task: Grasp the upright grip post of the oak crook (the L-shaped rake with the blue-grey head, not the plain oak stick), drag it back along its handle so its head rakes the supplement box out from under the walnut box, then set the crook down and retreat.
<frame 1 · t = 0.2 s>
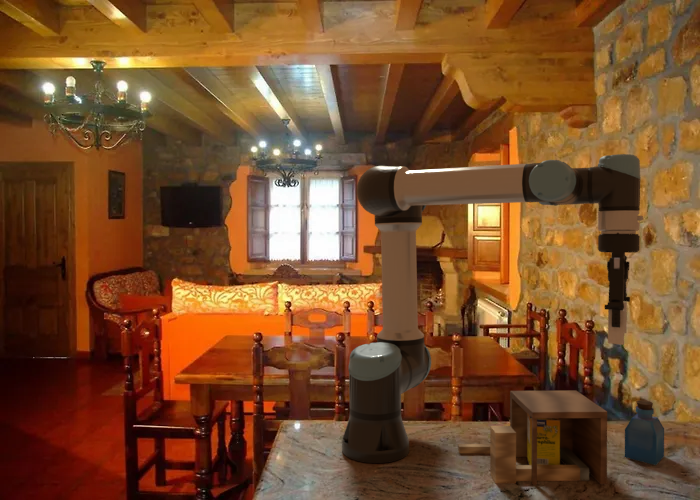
hand: (617, 338, 113), 28 cm above the countertop, fingers open, 13 cm apart
oak crook: (502, 479, 111), on the countertop
walnut box: (561, 466, 117), on the countertop
perfume bottle: (644, 457, 122), on the countertop
plain oak stick: (485, 453, 125), on the countertop
supplement box: (543, 467, 117), on the countertop
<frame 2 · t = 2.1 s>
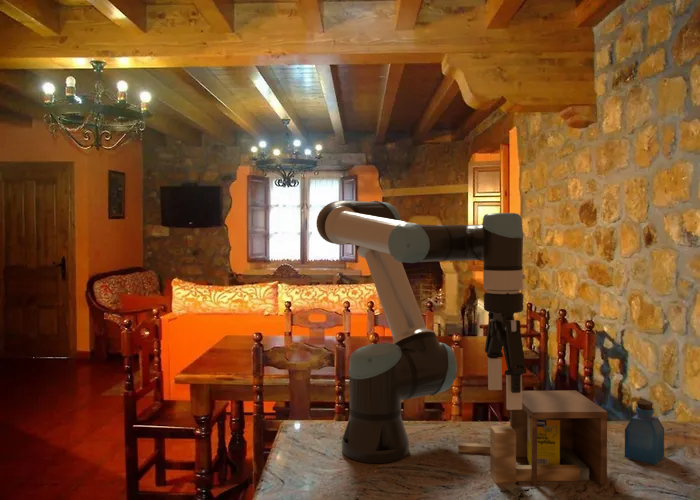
hand: (504, 398, 111), 16 cm above the countertop, fingers open, 13 cm apart
nothing on the countertop moved.
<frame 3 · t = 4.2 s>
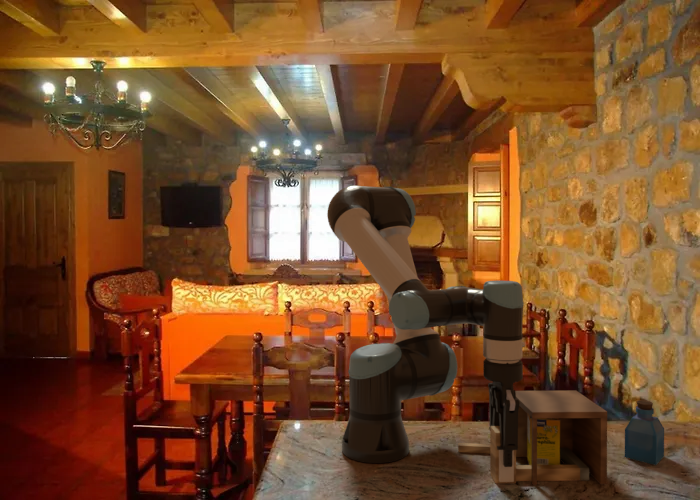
hand: (502, 475, 111), 1 cm above the countertop, fingers closed on oak crook, 4 cm apart
oak crook: (502, 479, 111), on the countertop, touching gripper
everything else where it was.
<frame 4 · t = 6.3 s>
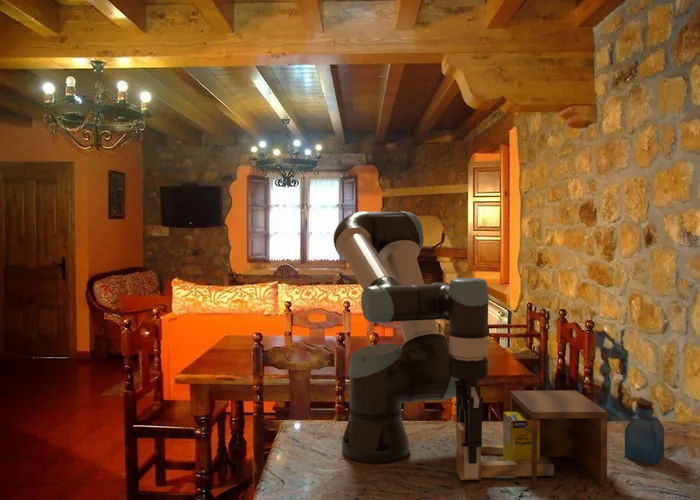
hand: (468, 472, 112), 1 cm above the countertop, fingers closed on oak crook, 4 cm apart
oak crook: (468, 475, 112), point 1 cm above the countertop, touching gripper, supplement box
supplement box: (521, 468, 117), on the countertop, touching oak crook
everything else where it was.
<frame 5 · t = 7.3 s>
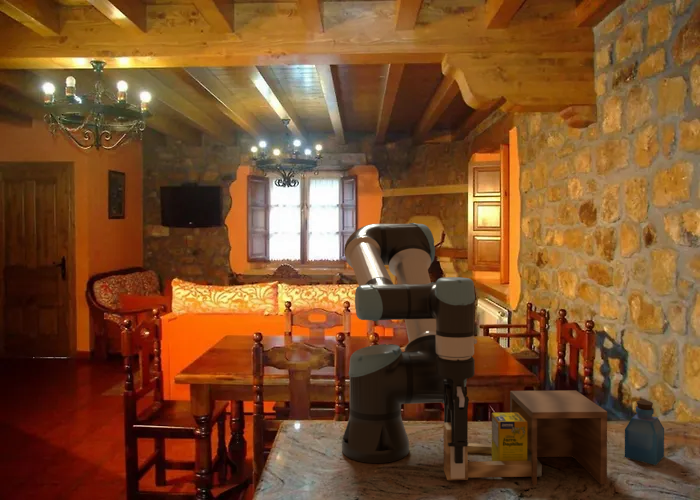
hand: (455, 472, 111), 1 cm above the countertop, fingers closed on oak crook, 4 cm apart
oak crook: (455, 475, 111), point 1 cm above the countertop, touching gripper, supplement box
supplement box: (509, 469, 116), on the countertop, touching oak crook
everything else where it was.
when the fingers open (1 cm above the countertop, at t = 8.1 s): oak crook stays where it is, on the countertop.
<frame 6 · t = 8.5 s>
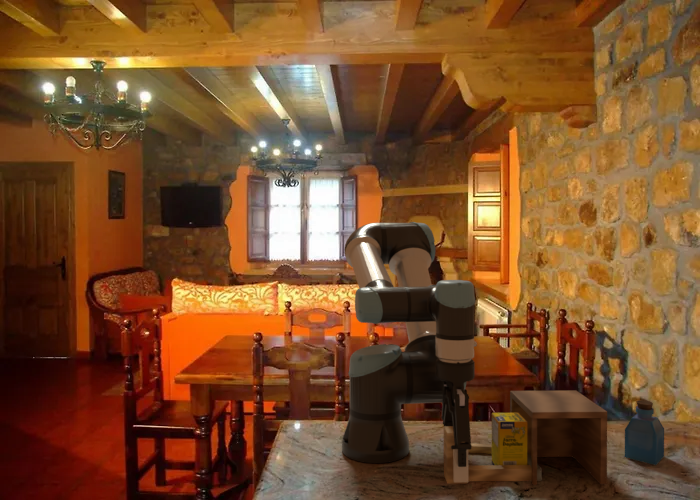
hand: (455, 469, 111), 2 cm above the countertop, fingers open, 10 cm apart
oak crook: (455, 479, 111), on the countertop
supplement box: (509, 469, 116), on the countertop
everything else where it was.
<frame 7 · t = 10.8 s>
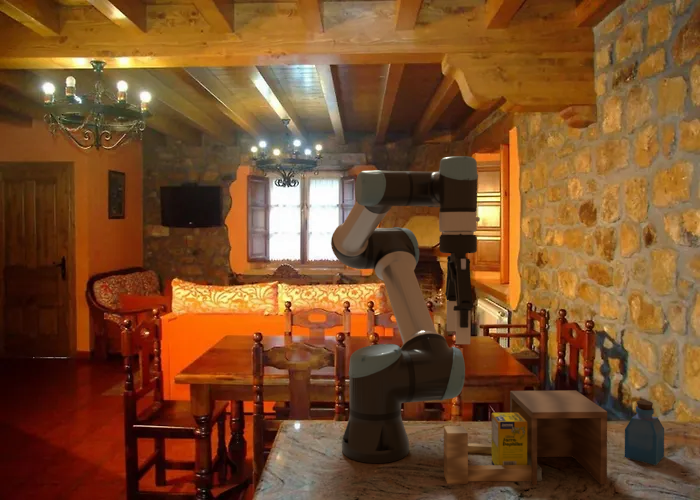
hand: (457, 337, 115), 28 cm above the countertop, fingers open, 13 cm apart
nothing on the countertop moved.
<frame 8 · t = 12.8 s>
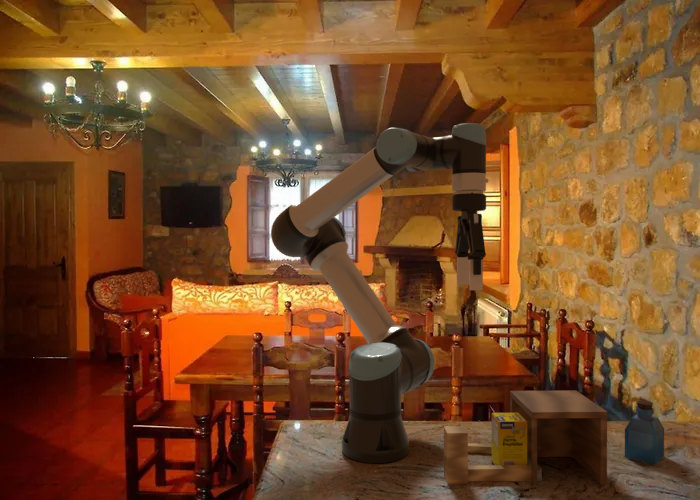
hand: (469, 287, 127), 37 cm above the countertop, fingers open, 13 cm apart
nothing on the countertop moved.
at the end: supplement box inside the target area (3.1 cm from its centre), on the countertop; supplement box tilted 0°; the gripper is holding nothing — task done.
